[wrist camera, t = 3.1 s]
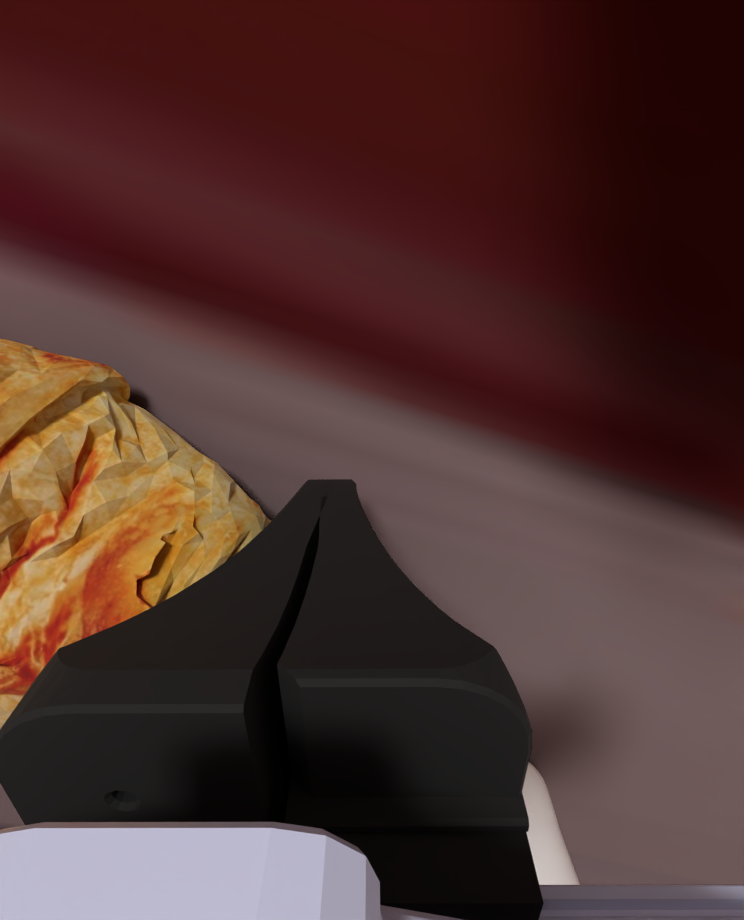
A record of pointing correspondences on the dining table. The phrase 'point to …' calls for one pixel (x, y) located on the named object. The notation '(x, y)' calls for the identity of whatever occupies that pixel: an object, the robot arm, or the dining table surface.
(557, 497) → the dining table surface
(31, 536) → the croissant
